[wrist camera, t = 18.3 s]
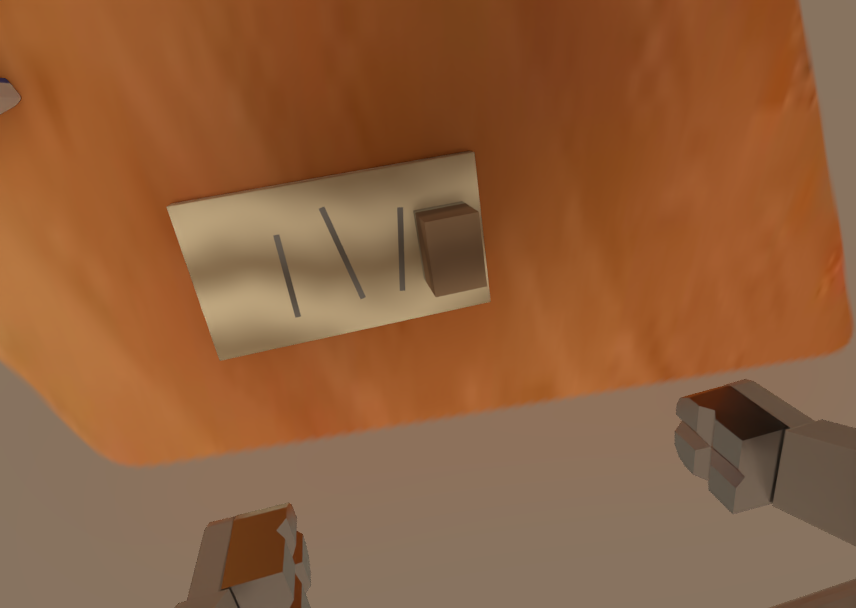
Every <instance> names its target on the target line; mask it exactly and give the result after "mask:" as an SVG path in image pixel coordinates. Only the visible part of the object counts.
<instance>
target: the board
mask: <svg viewBox="0 0 856 608" xmlns="http://www.w3.org/2000/svg"><path fill="white" fill-rule="evenodd" d="M460 201H463V202H464V203H466V204H467V205H469V206H471V207H472V208H474V209H475V210H477V211H478V212H479V217H480V226H481V235H482V244H483V253H484V263H485V272H486V281H487V287H482V288H477V289H473V290H468V291H463V292H459V293H454V294H449V295H445V296H440V297H435V295H434V294H433V292H432V291H431V289H430V287H429V286H428V284H427V283H426V281H425V279H424V276H423V269H422V263H421V257H420V251H419V244H418V238H417V232H416V226H415V219H414V213H413V210H418V209H424V208H429V207H434V206H439V205H445V204H450V203H455V202H460ZM167 210H168V213H169V215H170V218H171V221H172V224H173V227H174V230H175V233H176V236H177V239H178V241H179V244H180V247H181V250H182V253H183V256H184V259H185V262H186V265H187V268H188V270H189V273H190V276H191V279H192V282H193V285H194V288H195V291H196V294H197V296H198V299H199V302H200V305H201V308H202V311H203V314H204V317H205V320H206V322H207V325H208V328H209V331H210V334H211V337H212V340H213V343H214V346H215V348H216V351H217V354H218V357H219V360H220V361H221V360H226V359H230V358H235V357H239V356H244V355H248V354H253V353H258V352H262V351H267V350H271V349H276V348H281V347H285V346H290V345H294V344H299V343H304V342H308V341H313V340H317V339H322V338H326V337H331V336H336V335H340V334H345V333H349V332H354V331H359V330H363V329H368V328H372V327H377V326H381V325H386V324H391V323H395V322H400V321H404V320H409V319H414V318H418V317H423V316H427V315H432V314H437V313H441V312H446V311H450V310H455V309H459V308H464V307H469V306H473V305H478V304H482V303H487V302H491V301H490V292H489V283H488V274H487V264H486V255H485V246H484V237H483V227H482V218H481V209H480V200H479V190H478V181H477V172H476V162H475V153H474V152H472V151H466V152H460V153H454V154H449V155H443V156H437V157H432V158H426V159H421V160H415V161H409V162H404V163H398V164H392V165H387V166H381V167H375V168H370V169H364V170H358V171H353V172H347V173H341V174H336V175H330V176H324V177H319V178H313V179H308V180H302V181H296V182H291V183H285V184H279V185H274V186H268V187H262V188H257V189H251V190H245V191H240V192H234V193H228V194H223V195H217V196H211V197H206V198H200V199H195V200H189V201H183V202H178V203H172V204H170V205H169V206H167Z"/></svg>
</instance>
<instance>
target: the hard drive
mask: <svg viewBox="0 0 856 608" xmlns="http://www.w3.org/2000/svg"><path fill="white" fill-rule="evenodd" d="M20 100H21V96H20V95H19V94H18V92H17V91H16V90H15V88H14V87H13V86H12V85H11V84H10V83H9V81H8V80H7V79H5V78H0V114H2V113H4V112H5V111H7V110H9V109H11V108H12V107H14V106H15V105H17V104H18V103H19V101H20Z"/></svg>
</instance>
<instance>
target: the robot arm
mask: <svg viewBox="0 0 856 608" xmlns="http://www.w3.org/2000/svg"><path fill="white" fill-rule="evenodd" d="M676 415H677V416H678V417H679V418H680V419H681V420H682V421H681V423H680V424H679V426H678V427H677V429H676V430H675V446H676V449H677V452H678V455H679V457H680V459H681V460H682V462H683V464H684V465H685V466H686V468H687V469H688V470H689V471H690V472H691V473H692V474H693V475H695V476H698V477H700V478H703V479H705V480H708V489H709V491H710V492H711V493H712V494H713V495H714V496H715V497H716V498H717V499H718V500H719V501H720V502H721V503H722V504H723V505H724V506H725V507H726V508H727V509H728V510H729V511H730V512H731V513H732V514H735V513H739V512H743V511H747V510H750V509H754V508H757V507H761V506H765V505H769V504H773V505H772V506H774V507H776V508H778V509H780V510H782V511H784V512H786V513H788V514H790V515H792V516H794V517H797V518H798V519H801V520H803V521H805V522H807V523H809V524H811V525H813V526H815V527H817V528H819V529H821V530H823V531H825V532H828V533H829V534H831V535H833V536H836V537H838V538H840V539H842V540H844V541H846V542H848V543H850V544H852V545H854V546H856V428H853V427H849V426H845V425H841V424H838V423H834V422H830V421H826V420H818V421H814V420H812V419H811V418H810V417H808V416H806V415H805V414H803V413H802V412H800V411H799V410H797V409H796V408H794V407H793V406H791V405H790V404H788V403H787V402H785V401H783V400H782V399H780V398H779V397H777V396H775V395H774V394H773V393H771V392H770V391H768V390H767V389H765V388H763V387H762V386H760V385H759V384H757V383H756V382H754V381H751V380H747V379H744V380H740V381H737V382H734V383H730V384H726V385H724V386H722V387H718V388H714V389H710V390H706V391H703V392H699V393H695V394H692V395H688V396H685V397H681V398H680V399H679V401H678V403H677V407H676ZM296 528H297V516H296V514H295V511H294V509H293V506H292V504H290V503H285V504H281V505H277V506H273V507H269V508H265V509H261V510H256V511H252V512H248V513H244V514H240V515H237V516H235V517H231V518H226V519H222V520H218V521H213V522H210V523H209V524H208V525H207V527H206V528H205V530H204V534H203V538H202V542H201V546H200V550H199V554H198V558H197V562H196V566H195V570H194V574H193V578H192V582H191V586H190V590H189V594H188V598H187V601H184V602H181V603H178V604H177V605H176V606H175V608H311V607H310V605H309V602H308V599H307V596H306V592H307V591H308V589H309V588H310V586H311V571H310V563H309V555H308V551H307V546H306V542H305V539H304V536H303V534H302V533H300V532H298V531H296ZM770 608H856V579H853V580H850V581H847V582H844V583H841V584H838V585H835V586H832V587H829V588H826V589H823V590H820V591H817V592H814V593H811V594H809V595H805V596H803V597H799V598H796V599H794V600H790V601H788V602H785V603H782V604H779V605H776V606H773V607H770Z"/></svg>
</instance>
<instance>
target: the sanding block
mask: <svg viewBox="0 0 856 608" xmlns="http://www.w3.org/2000/svg"><path fill="white" fill-rule="evenodd" d="M413 213H414V219H415V226H416V232H417V238H418V244H419V251H420V257H421V263H422V269H423V276H424V279H425V281H426V283H427V284H428V286H429V287H430V289H431V291H432V292H433V294H434V295H435V297H440V296H445V295H449V294H454V293H459V292H463V291H468V290H473V289H477V288H482V287H487V281H486V272H485V263H484V253H483V244H482V235H481V226H480V217H479V212H478V211H477V210H475V209H474V208H472V207H471V206H469V205H467V204H466V203H464V202H463V201H460V202H455V203H450V204H445V205H439V206H434V207H429V208H424V209H418V210H413Z"/></svg>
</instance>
